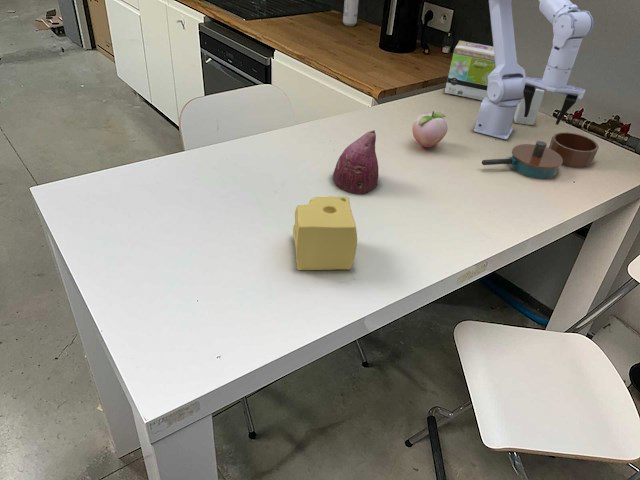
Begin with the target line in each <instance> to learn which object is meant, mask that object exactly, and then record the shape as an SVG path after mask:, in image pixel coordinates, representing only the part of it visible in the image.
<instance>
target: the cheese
mask: <svg viewBox="0 0 640 480" xmlns="http://www.w3.org/2000/svg"><path fill="white" fill-rule="evenodd" d="M292 235H293V236H292V237H293V242H294V246H295V261H296V269H297V271H327V270H328V271H329V270H331V271H333V270H351V269H352V267H353V264H354V261H355V258H356V253H357V248H358V247H357V246H358V231H357V225H356V221H355V218H354V215H353V212H352V208H351V203H350V198H349V197H348V196H332V195H331V196H330V195H329V196H314V197H312V198H311V199H310V200H309V202H308V203H307V204H298V205H297V206H295V209H294V224H293V227H292Z"/></svg>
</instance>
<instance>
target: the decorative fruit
mask: <svg viewBox="0 0 640 480" xmlns="http://www.w3.org/2000/svg"><path fill="white" fill-rule="evenodd" d="M445 118H446V115H445V114H444V113H442V112H438V111H437V112H435V111H434V110H433V111H432V112H431V113H429V112H427V113H423V114H421V115H419V116H418V117H416V119H415V120H414V121H413V124H412V128H411V132H412V135H413V138H414V140H415V141H416V143H417V144H418V145H420V146H421V147H424V148H431V147H433V146H435V145H437V144H439V143H440V142H441V141H442V140H443V139H444V138H445V137H446V135H447V133H448V130H449V127H448V123H447V121H446V119H445Z"/></svg>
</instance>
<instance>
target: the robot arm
mask: <svg viewBox="0 0 640 480" xmlns="http://www.w3.org/2000/svg"><path fill="white" fill-rule="evenodd" d="M512 1H513V0H488V7H489V14H490V15H489V16H490V27H491V37H492V44H493V45H492V47H494V56H495V66H496V68H495V69H494V70H493V71H492V72H491V73H490V74H489V76H488V87H487V95H488V98H487V97H485V98H484V99H483V101H482V100H481V104H480V106H479V110H478V114H477V118H476V121H475V125H474V129H473V132H475V133H478V134H481V135H482V134H483V135H485V136H489V137H494V138H497V139H501V140H506V141H507V140H509V138H510V136H511V134H512V133H513V130H514V128H513V127H512V125H513V122H514V115H515V112H516V109H517V105H518V104H519V103H520V102H521V99H525V115H524V117H527V116H528V114H529V111H530V107H531V102H532V99H533V96H534V93H535V90H536V89H540V90H544V91H546V92H549V93H555V94H558V95H563V96H565V98H564V100H563V104H562V107H561V110H560V112H559V114H558V116H557V119H556V121H555V125H557V126H559V125H560V122H561V121H562V119H563V117H564V116H565V115H566V114H567V112H568V111H570V109H571V108H572V107H573V106H574V105H575V104H576V103H577V100H583V98H584V95H585V93H586V89H585V88H581V87H577V86H575V85H572V84H569V83H568V82H569V79H570V76H571V73H572V70H573V67H574V64H575V62H576V59H577V56H578V53H579V51H580V47H581V45H582V42H583V39H584V38H586V37H588V36H589V35H590V34H591V32H592V30H593V28H594V18H593V16H592V14H591V12H590V11H589V10H580V9H579V6H578V5H577V4H575V3H573V2H572V1H571V0H537V1H538V2H539V5H538V9H539V12H540V13H541V14H542V15H543V16H544V18H545V19H547V21H548V22H549V23H550V24H552V32H553V38H552V40H551V41H552V47H551V49H550V54H549V57H548V61H547V63H546V66H545V68H544V72H543V75H542V78H539V77H531V76H530V77H529V76H527V75H526V70H525V68H523V67H522V66H520V65H519V63H518V59H517V57H518V56H517V50H516V38H515V29H514V28H515V27H514V18H513V17H514V16H513V8H512Z"/></svg>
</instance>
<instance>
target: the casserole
mask: <svg viewBox="0 0 640 480" xmlns="http://www.w3.org/2000/svg"><path fill="white" fill-rule="evenodd" d="M599 147H600V146H599V144H598V142H596V141H595V140H594V139H593V138H590V137H588V136H586V135H583V134H579V133H576V132H568V131H565V132H564V131H563V132H557V133H554V134H553V135H552V137H551V140H550V142H549V145H548V148H549V149H551V150H553V151H555V152H557V153H558V154H559V155H560V156H561V157H562V159H563V163H562V165H561V166H565V167H569V168H573V169H585V168H586V169H587V168H588V167H590V166H592V165H593V162H594V161H595V157H596V155H597V153H598V150H599Z"/></svg>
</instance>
